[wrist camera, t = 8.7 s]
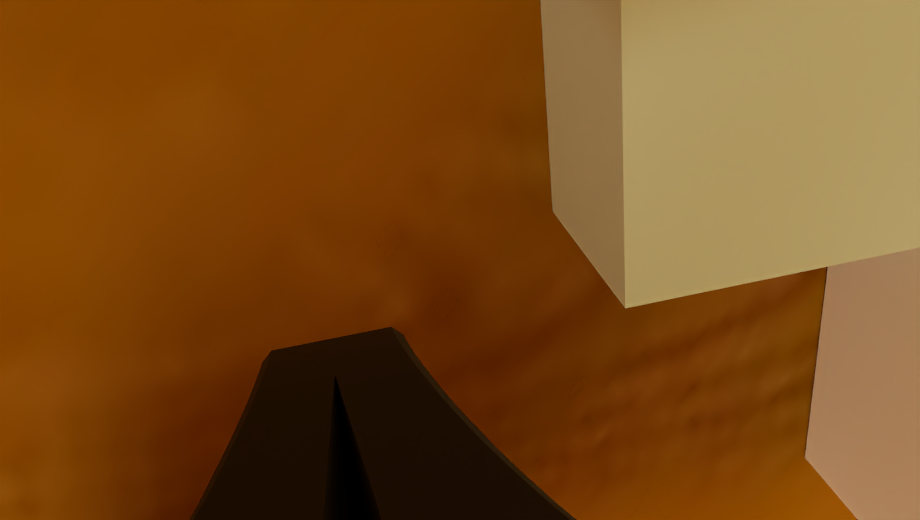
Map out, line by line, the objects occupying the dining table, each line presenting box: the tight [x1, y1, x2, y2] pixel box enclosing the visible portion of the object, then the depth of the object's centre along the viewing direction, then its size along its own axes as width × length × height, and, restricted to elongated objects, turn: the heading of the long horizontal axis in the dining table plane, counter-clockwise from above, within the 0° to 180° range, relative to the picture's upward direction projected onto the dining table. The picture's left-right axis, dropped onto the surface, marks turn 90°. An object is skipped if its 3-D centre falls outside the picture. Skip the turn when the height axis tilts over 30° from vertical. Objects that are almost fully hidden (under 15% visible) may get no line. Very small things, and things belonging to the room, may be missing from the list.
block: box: [540, 0, 920, 308], centre depth 16 cm, size 6×7×4 cm
